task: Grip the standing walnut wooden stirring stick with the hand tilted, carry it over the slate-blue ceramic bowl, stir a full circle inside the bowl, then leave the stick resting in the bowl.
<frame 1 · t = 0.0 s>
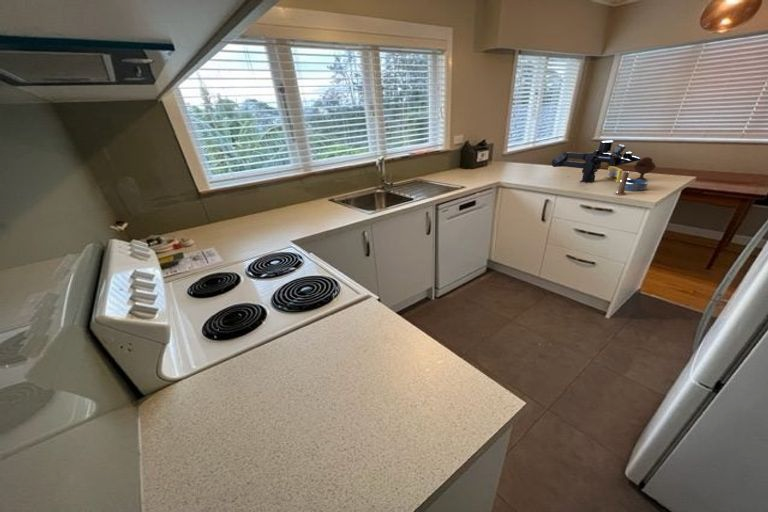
hand: (635, 160, 179), 17 cm above the worktop, tool horizontal, fingers open, 9 cm apart
candy box: (612, 179, 206), on the worktop
brown tree model: (640, 180, 200), on the worktop
stirring stick: (620, 193, 176), on the worktop
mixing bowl: (632, 188, 183), on the worktop
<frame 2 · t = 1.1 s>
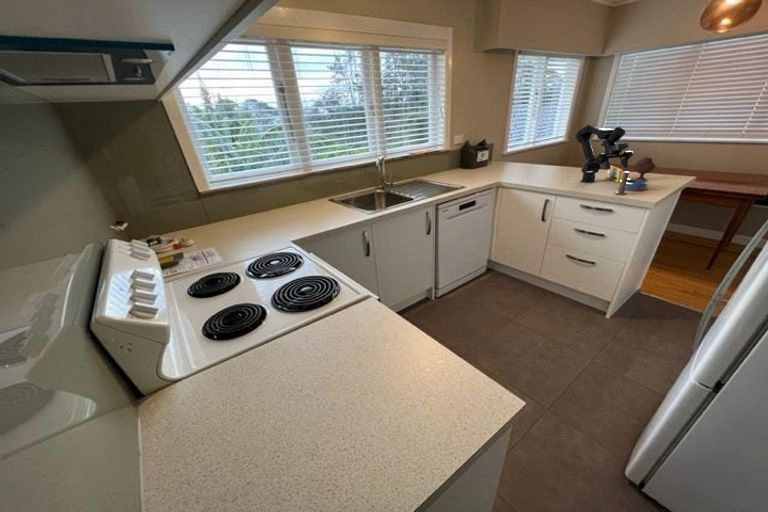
hand: (617, 168, 177), 13 cm above the worktop, tool tilted 45°, fingers open, 9 cm apart
nothing on the worktop moved.
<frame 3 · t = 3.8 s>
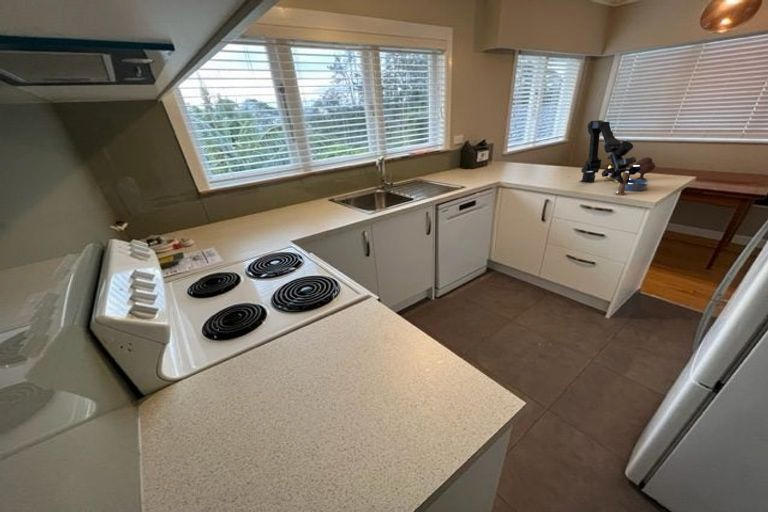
hand: (625, 183, 172), 7 cm above the worktop, tool tilted 45°, fingers closed on stirring stick, 2 cm apart
stirring stick: (620, 193, 176), on the worktop, touching gripper
everything else where it was.
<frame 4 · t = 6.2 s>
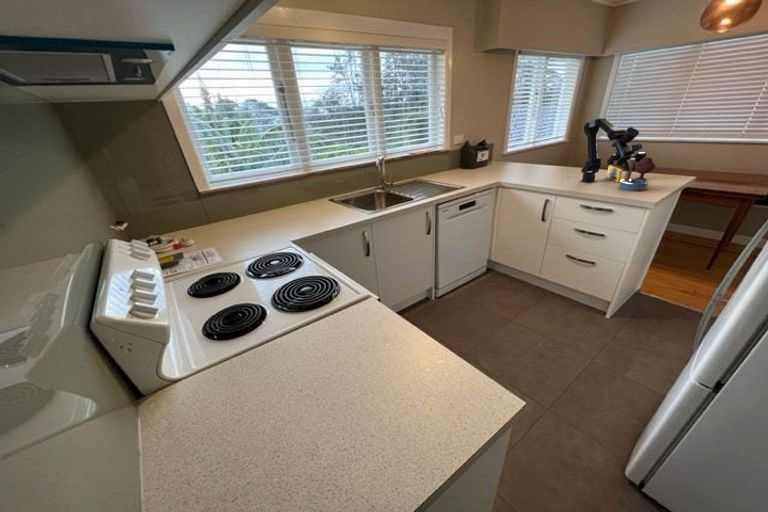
hand: (631, 170, 169), 14 cm above the worktop, tool tilted 45°, fingers closed on stirring stick, 2 cm apart
stirring stick: (626, 181, 173), point 7 cm above the worktop, touching gripper
everything else where it was.
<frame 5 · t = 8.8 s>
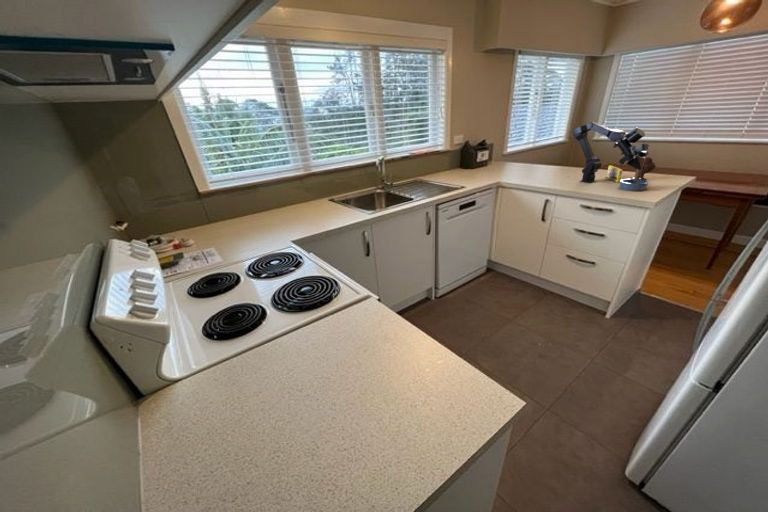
hand: (642, 169, 176), 12 cm above the worktop, tool tilted 45°, fingers closed on stirring stick, 2 cm apart
stirring stick: (636, 179, 180), point 6 cm above the worktop, touching gripper
everything else where it was.
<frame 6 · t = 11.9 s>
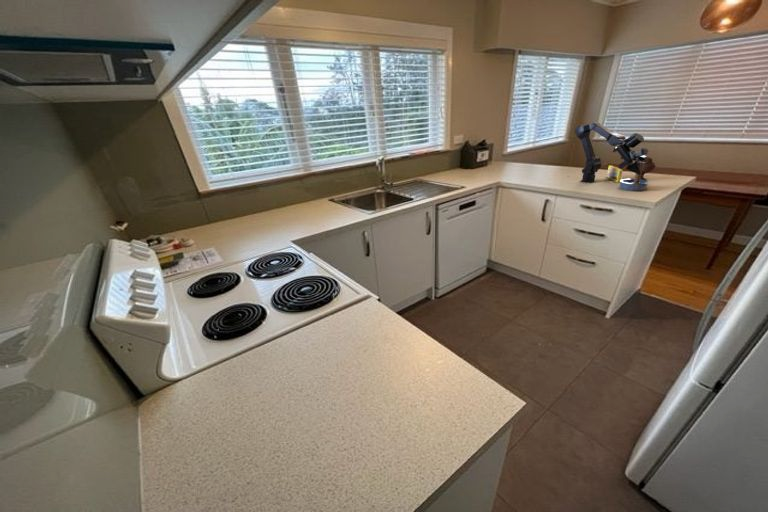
hand: (641, 173, 176), 10 cm above the worktop, tool tilted 45°, fingers closed on stirring stick, 2 cm apart
stirring stick: (635, 184, 180), point 3 cm above the worktop, touching gripper
everything else where it was.
when the fingers open (7 cm above the worktop, at t = 13.8 s): stirring stick stays where it is, resting on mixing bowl.
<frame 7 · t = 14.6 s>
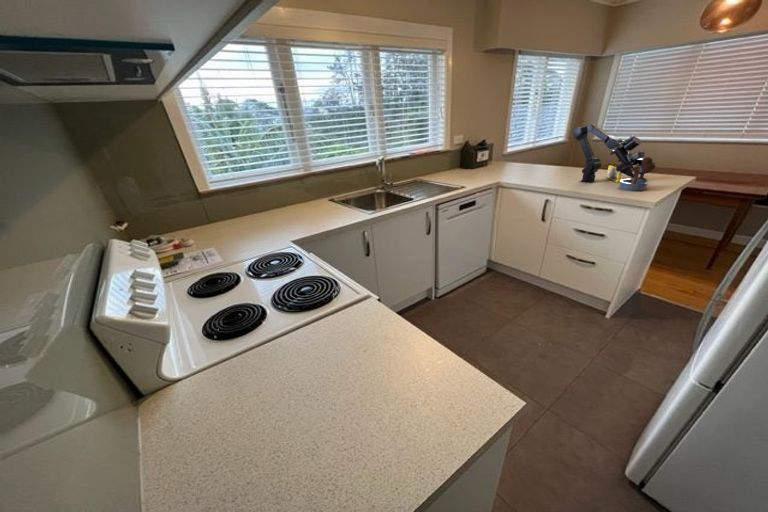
hand: (638, 176, 179), 8 cm above the worktop, tool tilted 45°, fingers open, 9 cm apart
stirring stick: (632, 187, 183), point 1 cm above the worktop, touching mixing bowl
everything else where it was.
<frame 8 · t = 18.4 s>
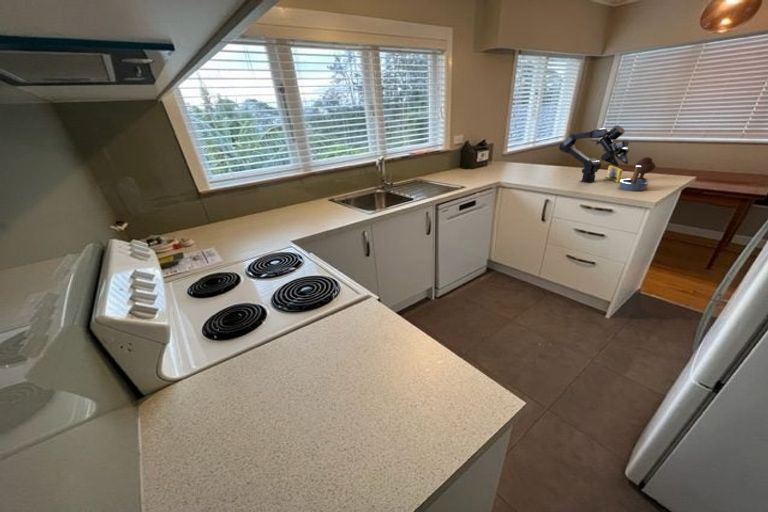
hand: (622, 164, 184), 14 cm above the worktop, tool tilted 45°, fingers open, 9 cm apart
nothing on the worktop moved.
at the end: stirring stick inside the target area in the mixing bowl (0.0 cm from its centre), point 0.6 cm above the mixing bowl's base; stirring stick moved 16.1 cm from its start; the gripper is holding nothing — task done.
